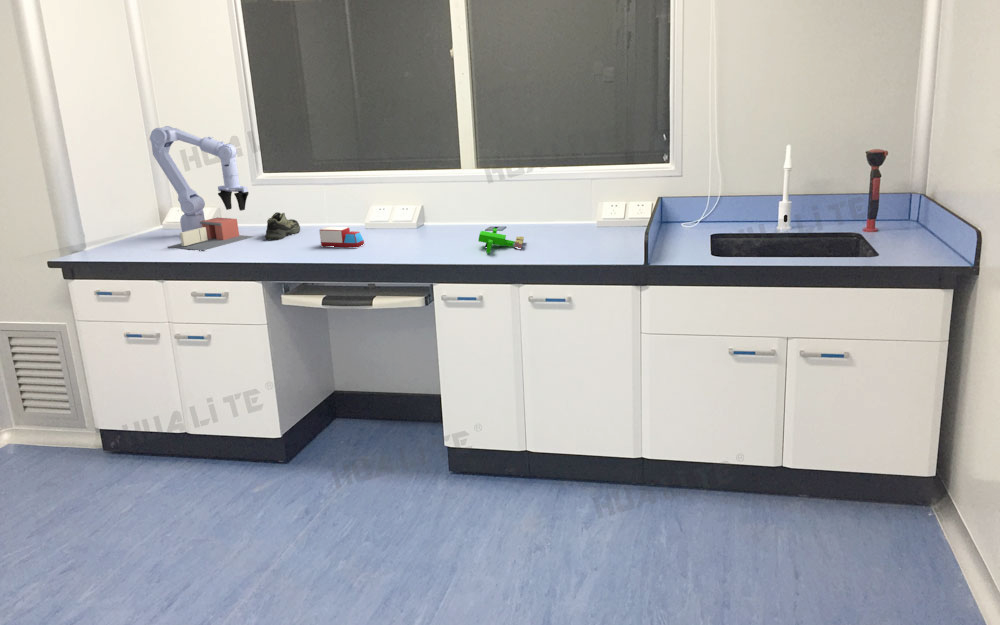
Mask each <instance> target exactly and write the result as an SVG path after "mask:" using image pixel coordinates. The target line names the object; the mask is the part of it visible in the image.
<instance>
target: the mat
mask: <svg viewBox="0 0 1000 625" xmlns="http://www.w3.org/2000/svg"><path fill="white" fill-rule="evenodd" d="M251 238H255V236H252V235H240V234H239V236H237V237H233V238H230V239H226V240H217V239H216V238H213V239H208V240H206V241H202V242H198V243H195V244H191V245H187V246H182V243H177V244H176V243H175V244H172V245H168V246H167V248H169V249H177V250H185V251H187V250H188V251H195V250H201V251H200V252H205V251H208V250H211V249H215V248H218V247H223V246H226V245H229V244H233V243H236V242H240V241H244V240H247V239H251Z"/></svg>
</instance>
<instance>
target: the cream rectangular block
mask: <svg viewBox="0 0 1000 625" xmlns="http://www.w3.org/2000/svg"><path fill="white" fill-rule="evenodd" d="M179 236H180V242H181V243H182V246H187V245H191V244H195V243H198V242H202V241H206V240H208V239H207V232H206V227H202V228H198V229H194V230H189V231H185V232H182V231H181V232H179Z"/></svg>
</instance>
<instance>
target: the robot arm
mask: <svg viewBox="0 0 1000 625" xmlns="http://www.w3.org/2000/svg"><path fill="white" fill-rule="evenodd" d="M149 141H150V143H151V150H152V151H151V152H152V156H153V157H154V159H155V160H156V162H157V163H158V166H159V167H160V168H161V170H162V171H163V173H164V175H165V176H166V177H167V179H168V181H169V183H170V184H171V186H172V187H173V188H174V191H175V192H176V194H177V196H178V197H177V201H178V202H179V205H180V210H181V211H182V213H184V214H182V215H181V216H180V220H179V222H180V228H181V232H185V231H189V230H194V229H198V228H202V224H200V222H201V221H205V220H206V219H205V212H204V210H203V209H204V208H205V205H206V204H205V200H204V198H203V197H202V196H200V195H199V194H198V193H197V192H196V190H194V189H193V188H191V187H190V185H189V183H188V181H187V180H186V179H185V177H184V176H183V174H182V171H181V170H180V169H179V168H178V166H177V164H176V163H175V161H174V160H173V158H172V157H171V155H170V153H169V152H170V149H171V147H172V145H173V143H174V142H177V141H181V142H183V143H188V144H189V145H193V146H197V147H199V149H200V150H201V152H204V153H207V154H210V155H213V156H214V157H215V156H216V157H218V158H219V160H220V164H221V171H222V178H223V184H224V185H219V186H217V190H218V193H217V195H218V197H220V199H221V201H222V203H223V204H224V207H225V209H226V211H227V210H232V194H233V192H234V196H235V198H236V201H237V205H238V209H239V211H244V210H246V205H247V204H246V203H247V198H248V196H249V191H248V186H243V185H241V184H240V179H239V172H238V171H239V170H238V164H237V160H236V159H237V158H236V156H237V155H238V154H237V153H238V149H237V148H236V146H235V145H233V144H231V143H225V142H224V141H222V140H221V141H219V140H216V139H213V137H212V136H204V137H203V138H201V137H199V136H196V135H194V134H191V133H189V132H187V131H185V130H181V129H179V128H177V127H173V126H170V125H168V126H167V125H166V126H163V127H155V128H153V129H152V131H151V133H150V135H149Z"/></svg>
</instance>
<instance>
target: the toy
mask: <svg viewBox="0 0 1000 625" xmlns="http://www.w3.org/2000/svg"><path fill="white" fill-rule="evenodd" d="M497 231H498V228H492V232H490V231H486V230H480V231H479V232H480V233H479V235H478V242H480V243H485V245H484V248H485V247H487V249H486V250H485V253H486V254H491V251H492V247H493V245H495V246H502V247H503V246H505V247H510V246H514V247H518V248H523V245H522V244H523V243H524V239H525V236H516V237H515V240H510V239H506V237H507V235H506V234H503V233H502V234H501V233H498V232H497ZM514 247H513V248H514Z"/></svg>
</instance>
